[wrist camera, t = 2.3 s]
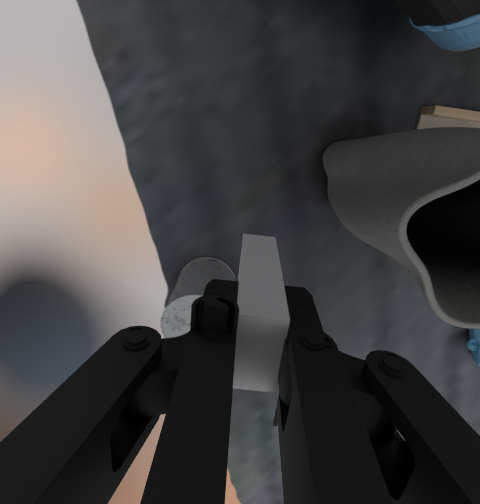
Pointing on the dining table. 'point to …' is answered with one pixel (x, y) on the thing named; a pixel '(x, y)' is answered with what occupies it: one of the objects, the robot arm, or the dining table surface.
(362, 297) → the dining table surface
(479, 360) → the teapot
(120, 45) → the dining table surface
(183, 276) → the grey cylinder
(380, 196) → the vase
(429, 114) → the tray
